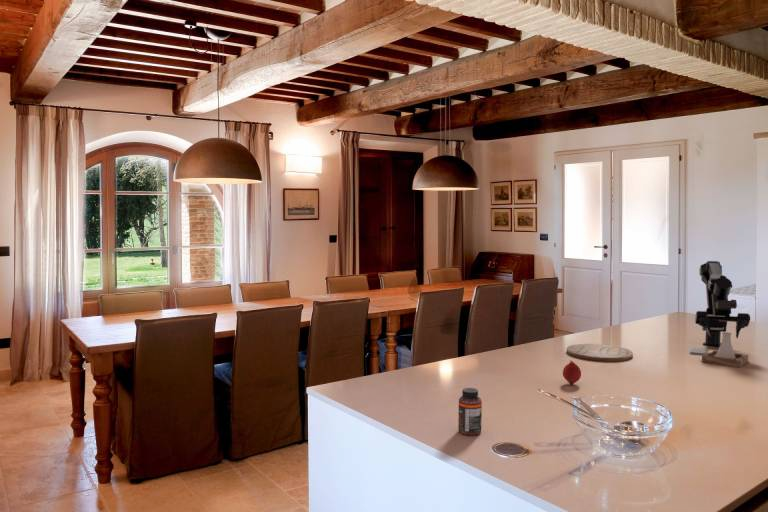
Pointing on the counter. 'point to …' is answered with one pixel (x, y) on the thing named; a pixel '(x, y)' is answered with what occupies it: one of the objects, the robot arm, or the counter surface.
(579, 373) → the onion
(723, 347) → the flask
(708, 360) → the tray
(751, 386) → the counter surface
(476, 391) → the supplement bottle
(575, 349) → the trivet
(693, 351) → the slate coaster
